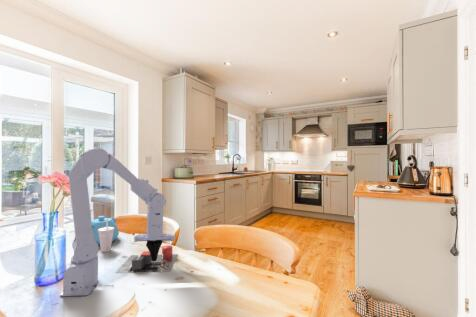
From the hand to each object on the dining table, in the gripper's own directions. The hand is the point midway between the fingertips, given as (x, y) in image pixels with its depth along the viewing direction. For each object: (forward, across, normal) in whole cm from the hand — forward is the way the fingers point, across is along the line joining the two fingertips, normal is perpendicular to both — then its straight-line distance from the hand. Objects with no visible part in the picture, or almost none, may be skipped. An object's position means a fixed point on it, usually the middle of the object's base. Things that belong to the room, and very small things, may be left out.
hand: (154, 260), depth 87 cm
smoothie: (+3, +26, -18) cm, 32 cm away
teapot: (+3, +36, -30) cm, 47 cm away
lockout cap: (+1, -3, -6) cm, 7 cm away
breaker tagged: (+1, +3, 0) cm, 3 cm away
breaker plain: (+1, +5, +4) cm, 6 cm away
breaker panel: (+3, +2, -1) cm, 4 cm away
